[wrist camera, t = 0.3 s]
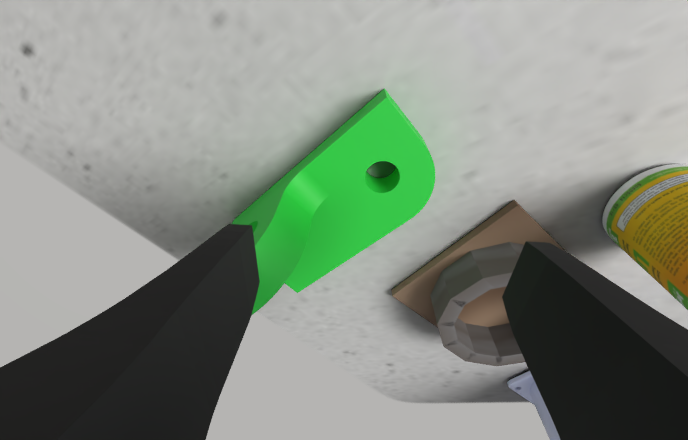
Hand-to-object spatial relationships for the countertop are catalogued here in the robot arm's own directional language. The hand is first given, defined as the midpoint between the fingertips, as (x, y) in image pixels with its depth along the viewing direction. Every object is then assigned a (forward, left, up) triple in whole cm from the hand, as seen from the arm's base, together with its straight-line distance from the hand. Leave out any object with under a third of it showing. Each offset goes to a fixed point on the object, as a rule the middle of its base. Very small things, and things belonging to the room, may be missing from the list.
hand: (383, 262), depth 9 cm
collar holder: (-14, +2, -10) cm, 17 cm away
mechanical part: (-1, +4, -11) cm, 12 cm away
